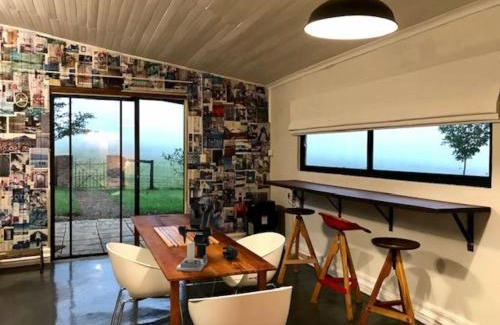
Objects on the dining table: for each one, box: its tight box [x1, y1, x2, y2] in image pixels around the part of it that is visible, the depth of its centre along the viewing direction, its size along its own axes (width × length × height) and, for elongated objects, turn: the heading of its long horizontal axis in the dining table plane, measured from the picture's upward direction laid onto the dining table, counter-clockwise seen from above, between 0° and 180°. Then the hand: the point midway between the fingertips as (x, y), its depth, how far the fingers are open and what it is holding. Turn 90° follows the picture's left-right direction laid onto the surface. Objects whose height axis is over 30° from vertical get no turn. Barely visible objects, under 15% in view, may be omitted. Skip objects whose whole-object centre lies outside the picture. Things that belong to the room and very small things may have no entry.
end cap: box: [222, 244, 239, 261], centre depth 245 cm, size 10×7×7 cm
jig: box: [175, 253, 209, 272], centre depth 226 cm, size 19×13×4 cm
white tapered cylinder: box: [186, 241, 196, 263], centre depth 221 cm, size 4×4×14 cm
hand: (192, 243), depth 225 cm, fingers open, 9 cm apart
